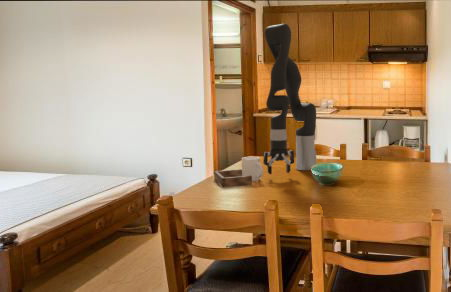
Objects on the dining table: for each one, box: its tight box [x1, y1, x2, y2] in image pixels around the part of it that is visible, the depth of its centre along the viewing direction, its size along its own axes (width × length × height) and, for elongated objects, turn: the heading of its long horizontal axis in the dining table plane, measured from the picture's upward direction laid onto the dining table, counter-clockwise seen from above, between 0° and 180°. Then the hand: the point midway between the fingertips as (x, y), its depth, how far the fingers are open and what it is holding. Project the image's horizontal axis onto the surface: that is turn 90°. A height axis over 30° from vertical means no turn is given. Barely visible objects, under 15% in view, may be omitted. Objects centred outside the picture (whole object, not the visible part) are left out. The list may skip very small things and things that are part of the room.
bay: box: [213, 168, 253, 188], centre depth 230 cm, size 13×17×4 cm
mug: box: [241, 156, 264, 183], centre depth 231 cm, size 12×8×10 cm
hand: (279, 173), depth 234 cm, fingers open, 8 cm apart
